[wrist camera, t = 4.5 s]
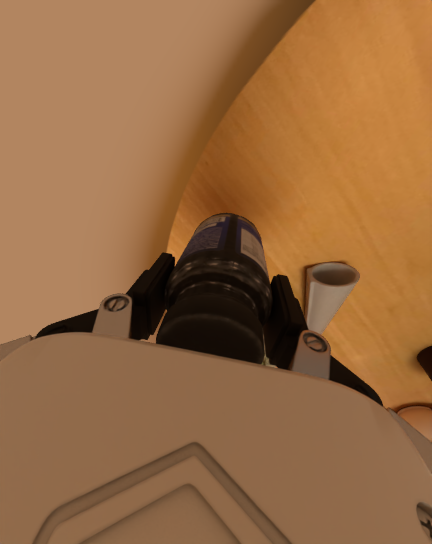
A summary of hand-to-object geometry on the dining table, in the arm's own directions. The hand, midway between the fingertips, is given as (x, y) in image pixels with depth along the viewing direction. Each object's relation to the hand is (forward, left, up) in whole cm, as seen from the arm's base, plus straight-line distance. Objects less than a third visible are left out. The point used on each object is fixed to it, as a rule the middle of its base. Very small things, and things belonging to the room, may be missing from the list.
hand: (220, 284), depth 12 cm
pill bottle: (0, 0, -6) cm, 6 cm away
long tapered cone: (+23, +3, -18) cm, 30 cm away
